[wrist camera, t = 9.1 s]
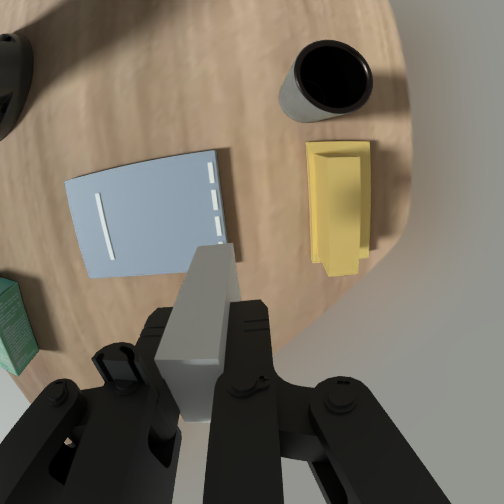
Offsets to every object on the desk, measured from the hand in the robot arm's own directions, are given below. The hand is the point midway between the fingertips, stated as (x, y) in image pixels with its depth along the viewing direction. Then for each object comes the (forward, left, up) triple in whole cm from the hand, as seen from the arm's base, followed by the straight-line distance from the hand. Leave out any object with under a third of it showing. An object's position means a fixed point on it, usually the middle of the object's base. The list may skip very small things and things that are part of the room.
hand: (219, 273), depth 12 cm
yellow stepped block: (+1, +9, -14) cm, 17 cm away
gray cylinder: (-9, +7, -15) cm, 18 cm away
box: (+12, -38, -15) cm, 42 cm away
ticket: (+1, -9, -15) cm, 17 cm away
